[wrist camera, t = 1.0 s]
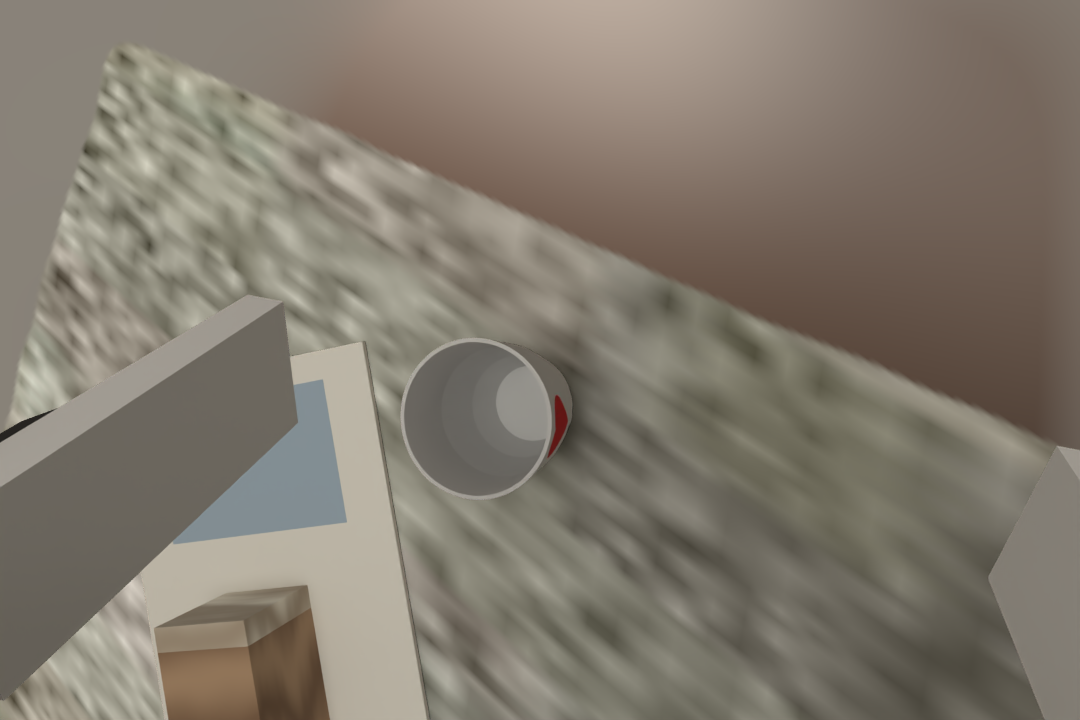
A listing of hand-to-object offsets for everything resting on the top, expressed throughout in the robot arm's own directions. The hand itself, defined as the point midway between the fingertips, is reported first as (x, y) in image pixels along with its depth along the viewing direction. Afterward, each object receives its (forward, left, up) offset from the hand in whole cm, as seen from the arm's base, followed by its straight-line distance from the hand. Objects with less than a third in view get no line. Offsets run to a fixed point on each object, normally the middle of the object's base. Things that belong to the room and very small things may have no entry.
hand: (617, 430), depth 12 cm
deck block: (-16, +33, -30) cm, 47 cm away
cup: (0, +11, -30) cm, 32 cm away
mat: (-9, +33, -30) cm, 46 cm away
